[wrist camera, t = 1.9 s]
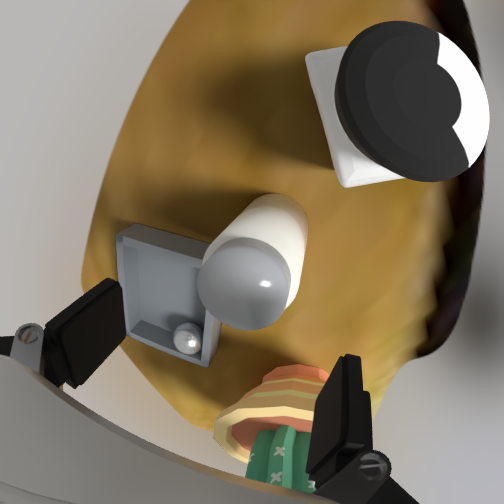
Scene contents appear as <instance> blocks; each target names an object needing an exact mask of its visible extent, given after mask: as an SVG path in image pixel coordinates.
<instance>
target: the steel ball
mask: <svg viewBox="0 0 504 504" xmlns="http://www.w3.org/2000/svg"><path fill="white" fill-rule="evenodd" d="M203 335H204V332H203V330H202V329H201V327H200V326H198V325H197V324H194V323H190V322H187V323H183V324H181V325H179V326H178V327H177V328H176V329H175V331H174V334H173V342H174V345H175V347H176V348H177V349H178V350H179V351H180V352H182V353H184V354H195V353H197V352H199V351H200V350H201V349H202V345H203Z"/></svg>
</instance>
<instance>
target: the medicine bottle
mask: <svg viewBox="0 0 504 504" xmlns="http://www.w3.org/2000/svg"><path fill="white" fill-rule="evenodd" d="M305 61H306V65H307V70H308V74H309V78H310V83H311V86H312V89H313V93H314V96H315V99H316V102H317V106H318V109H319V112H320V116H321V119H322V123H323V127H324V130H325V134H326V138H327V142H328V146H329V150H330V154H331V158H332V162H333V166H334V169H335V172H336V174H337V177H338V179H339V182H340V184H341V185H342V186H343V187H354V186H359V185H365V184H371V183H377V182H383V181H389V180H395V179H401V178H408V179H411V180H415V181H421V182H438V181H444V180H447V179H450V178H453V177H455V176H457V175H459V174H461V173H462V172H464V171H465V170H466V169H468V168H469V167H470V166H471V165H472V164H473V163H474V162H475V160H476V159H477V157H478V156H479V155H480V153H481V151H482V149H483V147H484V145H485V141H486V138H487V135H488V129H489V106H488V100H487V96H486V92H485V89H484V86H483V83H482V81H481V79H480V77H479V75H478V73H477V71H476V69H475V68H474V66H473V64H472V63H471V61H470V60H469V59H468V58H467V56H466V55H465V54H464V53H463V52H462V51H461V50H460V49H459V48H458V47H457V46H456V45H455V44H454V43H453V42H451V41H450V40H449V39H448V38H446V37H445V36H443V35H442V34H440V33H438V32H437V31H435V30H433V29H431V28H428V27H426V26H423V25H420V24H417V23H412V22H407V21H389V22H383V23H379V24H376V25H373V26H371V27H369V28H367V29H365V30H364V31H362V32H361V33H359V34H358V35H357V36H356V37H355V38H354V39H353V40H352V41H351V42H350V44H349V45H348V46H344V47H338V48H332V49H326V50H321V51H316V52H311V53H308V54H307V55H306V57H305Z"/></svg>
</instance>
